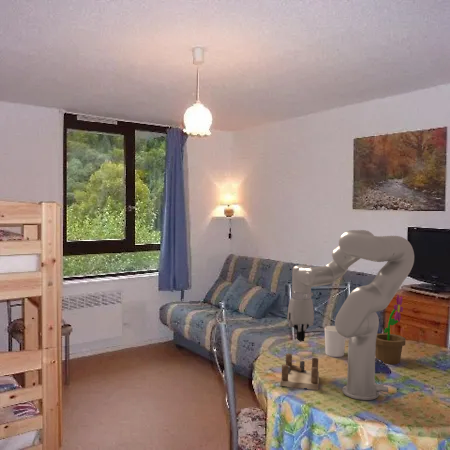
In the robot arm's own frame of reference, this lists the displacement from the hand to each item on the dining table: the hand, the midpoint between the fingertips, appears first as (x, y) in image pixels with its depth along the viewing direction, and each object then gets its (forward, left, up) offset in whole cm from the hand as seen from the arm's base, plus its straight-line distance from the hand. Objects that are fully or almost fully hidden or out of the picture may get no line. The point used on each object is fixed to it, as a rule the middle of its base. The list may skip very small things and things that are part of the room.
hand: (300, 340), depth 193 cm
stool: (-1, +11, -13) cm, 17 cm away
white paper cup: (-15, -27, -13) cm, 33 cm away
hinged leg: (+2, +4, -11) cm, 12 cm away
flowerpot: (-38, -24, -13) cm, 46 cm away
